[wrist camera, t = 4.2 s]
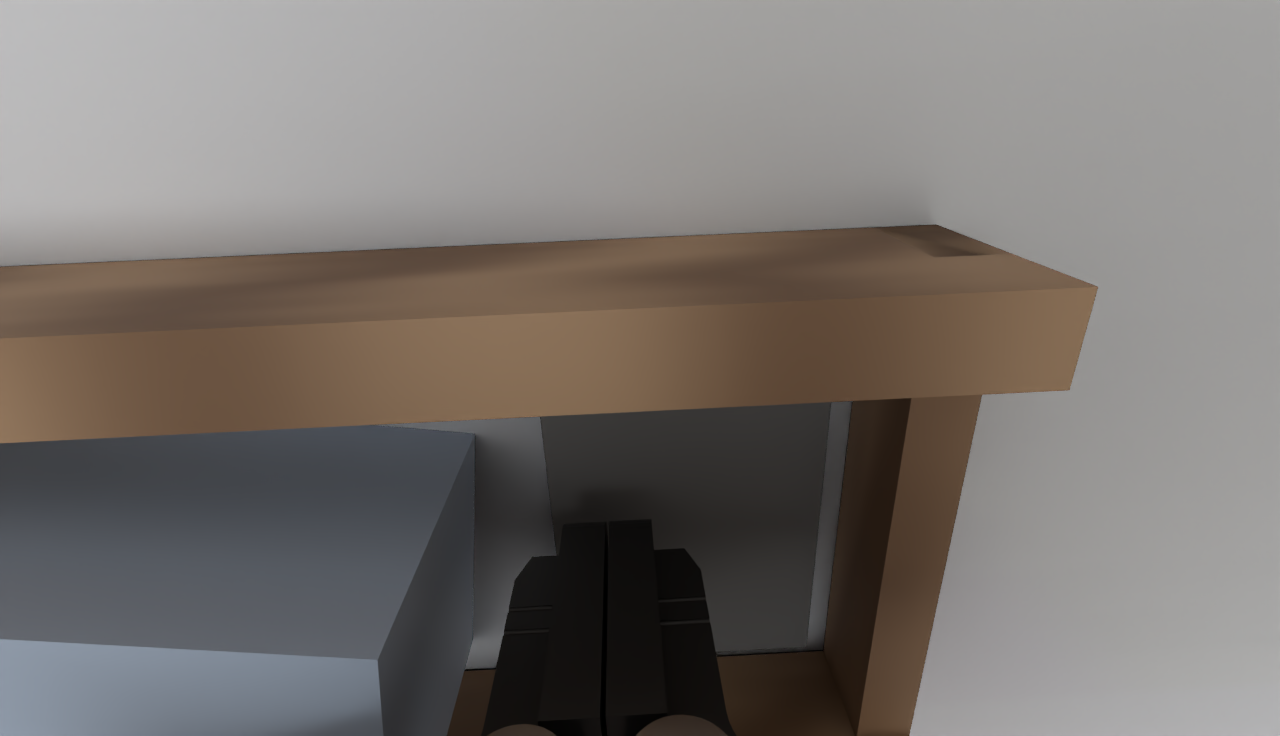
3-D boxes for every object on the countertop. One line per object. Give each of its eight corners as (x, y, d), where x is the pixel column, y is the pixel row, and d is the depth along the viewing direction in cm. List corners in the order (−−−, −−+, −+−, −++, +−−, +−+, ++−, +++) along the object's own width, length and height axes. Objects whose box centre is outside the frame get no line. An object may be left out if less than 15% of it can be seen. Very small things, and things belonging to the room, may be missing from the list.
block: (478, 427, 11) (377, 659, 6) (475, 630, 13) (397, 917, 8) (6, 387, 10) (-480, 613, 6) (79, 606, 12) (-239, 904, 8)
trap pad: (831, 330, 10) (837, 336, 10) (802, 635, 13) (806, 647, 13) (534, 344, 10) (532, 350, 10) (569, 648, 13) (568, 660, 13)
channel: (936, 224, 9) (1098, 286, 6) (862, 686, 14) (937, 865, 10) (-299, 280, 9) (-788, 376, 6) (13, 735, 13) (-175, 934, 10)
